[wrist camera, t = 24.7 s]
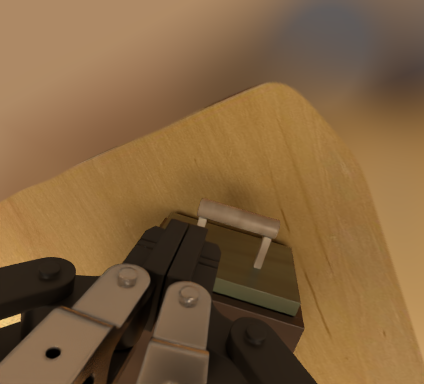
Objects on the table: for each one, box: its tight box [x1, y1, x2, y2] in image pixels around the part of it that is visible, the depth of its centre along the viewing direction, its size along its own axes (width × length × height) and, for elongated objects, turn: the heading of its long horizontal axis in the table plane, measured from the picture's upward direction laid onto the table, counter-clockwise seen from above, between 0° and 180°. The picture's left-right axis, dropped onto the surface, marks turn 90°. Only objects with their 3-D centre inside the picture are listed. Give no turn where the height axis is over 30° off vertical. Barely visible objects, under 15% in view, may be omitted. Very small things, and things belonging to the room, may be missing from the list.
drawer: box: [162, 198, 301, 316], centre depth 28 cm, size 17×11×8 cm
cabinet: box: [117, 218, 304, 384], centre depth 30 cm, size 14×13×10 cm
